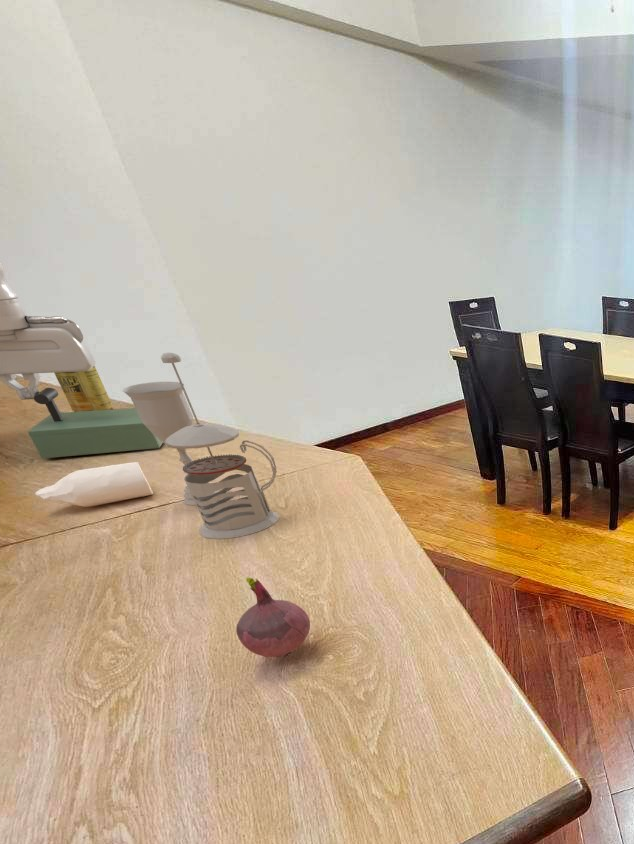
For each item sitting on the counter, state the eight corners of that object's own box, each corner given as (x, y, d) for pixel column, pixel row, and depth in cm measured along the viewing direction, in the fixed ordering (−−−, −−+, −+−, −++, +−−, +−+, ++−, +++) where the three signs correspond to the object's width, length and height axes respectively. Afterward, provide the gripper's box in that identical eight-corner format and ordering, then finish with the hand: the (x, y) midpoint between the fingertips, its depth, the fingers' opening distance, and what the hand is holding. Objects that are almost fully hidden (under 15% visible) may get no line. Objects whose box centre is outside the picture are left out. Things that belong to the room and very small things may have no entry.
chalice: (173, 496, 96) (120, 385, 87) (225, 486, 100) (180, 379, 91) (178, 511, 91) (124, 396, 82) (233, 500, 96) (186, 389, 87)
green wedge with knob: (41, 458, 105) (10, 400, 100) (64, 438, 114) (36, 384, 109) (159, 448, 113) (135, 393, 108) (172, 430, 122) (150, 378, 117)
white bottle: (47, 507, 91) (27, 473, 88) (150, 487, 98) (135, 456, 96) (47, 520, 87) (26, 485, 84) (155, 499, 95) (139, 466, 92)
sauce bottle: (69, 418, 126) (17, 320, 116) (102, 410, 131) (55, 316, 122) (92, 421, 125) (41, 322, 115) (125, 413, 130) (79, 318, 120)
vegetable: (308, 631, 67) (277, 556, 62) (329, 654, 64) (299, 577, 59) (244, 656, 63) (206, 578, 58) (263, 683, 60) (225, 602, 55)
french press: (206, 515, 91) (131, 347, 78) (297, 503, 95) (239, 343, 83) (190, 543, 83) (104, 362, 71) (289, 529, 88) (224, 357, 76)
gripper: (79, 313, 106) (114, 390, 113) (-93, 314, 96) (-43, 398, 103) (67, 318, 101) (105, 398, 108) (-115, 320, 92) (-61, 408, 99)
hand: (31, 398), depth 106 cm, fingers closed
